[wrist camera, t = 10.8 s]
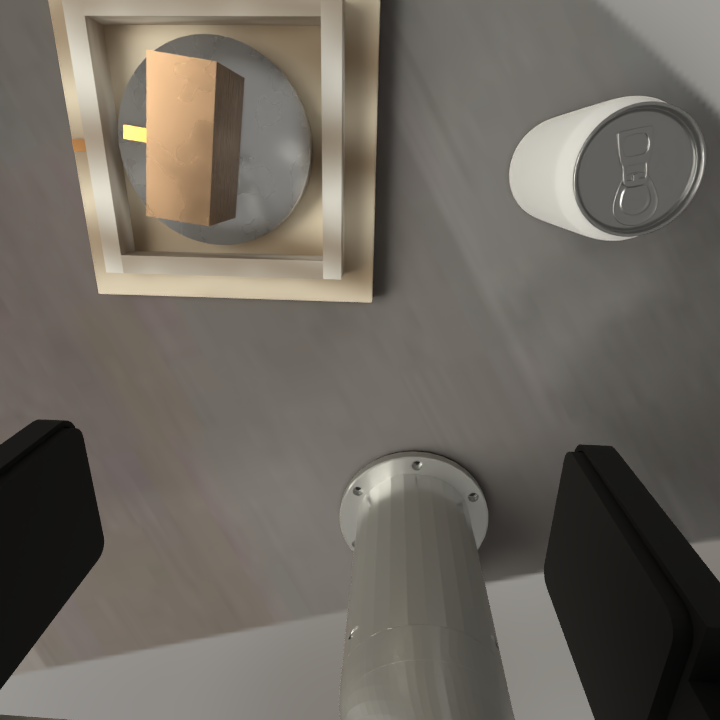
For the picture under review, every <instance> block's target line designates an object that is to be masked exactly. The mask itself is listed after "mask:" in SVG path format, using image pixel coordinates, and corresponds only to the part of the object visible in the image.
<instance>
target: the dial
mask: <svg viewBox="0 0 720 720" xmlns="http://www.w3.org/2000/svg"><path fill="white" fill-rule="evenodd" d="M118 138H119V147H120V152H121V157H122V161H123V164H124V167H125V170H126V173H127V175H128V177H129V180H130V182H131V184H132V186H133V187H134V189H135V191H136V193H137V194H138V196H139V197H140V199H141V200H142V201H143V203H144V204H145V205H146V216H150V217H156V218H158V219H159V220H160V221H162V222H163V223H164V224H165V225H167V226H168V227H170V228H171V229H172V230H174V231H176V232H177V233H179V234H181V235H183V236H185V237H188V238H190V239H193V240H196V241H199V242H203V243H207V244H215V245H234V244H239V243H244V242H248V241H251V240H254V239H256V238H258V237H260V236H262V235H264V234H266V233H268V232H270V231H272V230H273V229H275V228H276V227H277V226H279V225H280V224H281V223H282V222H284V221H285V220H286V219H287V218H288V217H289V216H290V214H291V213H292V212H293V211H294V210H295V208H296V207H297V205H298V204H299V202H300V200H301V199H302V197H303V195H304V192H305V190H306V188H307V185H308V182H309V178H310V175H311V169H312V164H313V138H312V132H311V126H310V122H309V119H308V116H307V112H306V109H305V107H304V105H303V103H302V101H301V98H300V96H299V95H298V93H297V91H296V90H295V88H294V86H293V85H292V84H291V82H290V81H289V80H288V78H287V77H286V76H285V75H284V73H283V72H282V71H281V70H280V69H279V68H278V67H277V66H276V65H275V64H273V63H272V62H271V61H270V60H269V59H267V58H266V57H265V56H264V55H262V54H261V53H260V52H258V51H257V50H255V49H254V48H252V47H250V46H248V45H247V44H245V43H242V42H240V41H237V40H235V39H233V38H229V37H225V36H221V35H213V34H194V35H188V36H184V37H179V38H177V39H174V40H172V41H169V42H167V43H165V44H164V45H162V46H160V47H159V48H157V49H155V50H154V51H152V50H146V58H145V59H144V60H143V61H142V63H141V64H140V65H139V66H138V67H137V69H136V70H135V72H134V73H133V75H132V76H131V78H130V80H129V82H128V84H127V87H126V89H125V91H124V95H123V98H122V101H121V105H120V111H119V118H118Z"/></svg>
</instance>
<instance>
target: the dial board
mask: <svg viewBox="0 0 720 720" xmlns="http://www.w3.org/2000/svg"><path fill="white" fill-rule="evenodd" d="M48 1H49V7H50V13H51V18H52V24H53V30H54V36H55V42H56V47H57V53H58V59H59V65H60V71H61V77H62V82H63V88H64V94H65V100H66V106H67V111H68V117H69V123H70V129H71V135H72V142H73V148H74V152H75V158H76V164H77V170H78V175H79V181H80V187H81V193H82V199H83V205H84V210H85V216H86V222H87V228H88V234H89V239H90V245H91V251H92V257H93V263H94V269H95V274H96V280H97V286H98V292H99V294H126V295H157V296H188V297H218V298H249V299H279V300H310V301H341V302H371V303H372V298H373V266H374V228H375V191H376V154H377V117H378V79H379V42H380V5H381V0H48ZM194 34H213V35H221V36H225V37H229V38H233V39H235V40H237V41H240V42H242V43H245V44H247V45H248V46H250V47H252V48H254V49H255V50H257V51H258V52H260V53H261V54H262V55H264V56H265V57H266V58H267V59H269V60H270V61H271V62H272V63H273V64H275V65H276V66H277V67H278V68H279V69H280V70H281V71H282V72H283V73H284V75H285V76H286V77H287V78H288V80H289V81H290V82H291V84H292V85H293V86H294V88H295V90H296V91H297V93H298V95H299V96H300V98H301V101H302V103H303V105H304V107H305V109H306V112H307V116H308V119H309V122H310V126H311V132H312V138H313V164H312V169H311V175H310V178H309V182H308V185H307V188H306V190H305V192H304V195H303V197H302V199H301V200H300V202H299V204H298V205H297V207H296V208H295V210H294V211H293V212H292V213H291V214H290V216H289V217H288V218H287V219H286V220H285V221H284V222H282V223H281V224H280V225H279V226H277V227H276V228H275V229H273V230H272V231H270V232H268V233H266V234H264V235H262V236H260V237H258V238H256V239H254V240H251V241H248V242H244V243H239V244H234V245H215V244H207V243H203V242H199V241H196V240H193V239H190V238H188V237H185V236H183V235H181V234H179V233H177V232H176V231H174V230H172V229H171V228H170V227H168V226H167V225H165V224H164V223H163V222H162V221H160V220H159V219H158V218H156V217H150V216H146V205H145V204H144V203H143V201H142V200H141V199H140V197H139V196H138V194H137V193H136V191H135V189H134V187H133V186H132V184H131V182H130V180H129V177H128V175H127V173H126V170H125V167H124V164H123V161H122V157H121V152H120V147H119V138H118V118H119V111H120V105H121V101H122V98H123V95H124V91H125V89H126V87H127V84H128V82H129V80H130V78H131V76H132V75H133V73H134V72H135V70H136V69H137V67H138V66H139V65H140V64H141V63H142V61H143V60H144V59H145V58H146V50H152V51H154V50H155V49H157V48H159V47H160V46H162V45H164V44H165V43H167V42H169V41H172V40H174V39H177V38H179V37H184V36H188V35H194Z"/></svg>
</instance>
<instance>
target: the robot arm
mask: <svg viewBox="0 0 720 720" xmlns="http://www.w3.org/2000/svg"><path fill="white" fill-rule="evenodd" d="M415 461H418V462H415ZM340 526H341V530H342V534H343V536H344V538H345V540H346V542H347V544H348V546H349V547H350V548H351V550H352V551H353V552H354V557H353V566H352V576H351V586H350V595H349V605H348V614H347V624H346V634H345V644H344V653H343V663H342V672H341V683H340V694H339V713H340V720H515V719H514V714H513V710H512V706H511V701H510V696H509V692H508V687H507V683H506V679H505V674H504V669H503V665H502V660H501V655H500V651H499V646H498V642H497V637H496V633H495V628H494V624H493V619H492V614H491V610H490V605H489V600H488V596H487V591H486V587H485V582H484V578H483V573H482V568H481V564H480V559H479V555H478V549H479V548H480V546H481V544H482V542H483V540H484V538H485V536H486V532H487V528H488V509H487V504H486V500H485V497H484V495H483V492H482V489H481V488H480V486H479V485H478V483H477V481H476V480H475V479H474V478H473V476H472V475H471V474H470V473H469V472H468V471H467V470H466V469H464V468H463V467H461V466H460V465H458V464H457V463H456V462H454V461H451V460H449V459H447V458H445V457H443V456H439V455H435V454H431V453H427V452H416V451H411V452H399V453H395V454H391V455H387V456H384V457H381V458H379V459H377V460H375V461H372V462H371V463H369V464H368V465H366V466H365V467H363V468H362V469H361V470H360V471H359V472H358V473H357V474H356V475H355V476H354V477H353V478H352V479H351V481H350V483H349V484H348V486H347V487H346V489H345V492H344V495H343V497H342V501H341V507H340ZM103 547H104V536H103V531H102V526H101V521H100V516H99V511H98V507H97V502H96V497H95V492H94V487H93V482H92V477H91V472H90V467H89V463H88V458H87V453H86V448H85V443H84V438H83V435H82V432H81V431H80V430H79V429H76V428H75V426H74V425H73V424H72V423H71V422H69V421H62V420H36V421H34V422H32V423H31V424H29V425H28V426H26V427H25V428H23V429H22V430H21V431H19V432H18V433H16V434H15V435H14V436H12V437H11V438H9V439H8V440H6V441H5V442H4V443H2V444H1V445H0V689H1V688H2V687H3V685H4V684H5V683H6V681H7V680H8V679H9V677H10V676H11V675H12V673H13V672H14V671H15V670H16V668H17V667H18V666H19V664H20V663H21V662H22V660H23V659H24V658H25V656H26V655H27V654H28V652H29V651H30V650H31V648H32V647H33V646H34V644H35V643H36V642H37V640H38V639H39V638H40V636H41V635H42V634H43V632H44V631H45V630H46V628H47V627H48V626H49V624H50V623H51V622H52V620H53V619H54V618H55V616H56V615H57V614H58V612H59V611H60V610H61V608H62V607H63V606H64V604H65V603H66V602H67V600H68V599H69V598H70V596H71V595H72V594H73V592H74V591H75V590H76V589H77V587H78V586H79V585H80V583H81V582H82V581H83V579H84V578H85V577H86V575H87V574H88V573H89V571H90V570H91V569H92V567H93V566H94V565H95V563H96V562H97V561H98V559H99V558H100V556H101V554H102V551H103ZM544 575H545V576H544V577H545V583H546V586H547V589H548V592H549V595H550V597H551V600H552V603H553V606H554V608H555V611H556V614H557V617H558V619H559V622H560V625H561V628H562V630H563V633H564V636H565V639H566V641H567V644H568V647H569V650H570V652H571V655H572V658H573V661H574V663H575V666H576V669H577V672H578V674H579V677H580V680H581V683H582V685H583V688H584V691H585V694H586V696H587V699H588V702H589V705H590V707H591V710H592V713H593V716H594V718H595V720H720V582H719V581H718V580H717V578H716V577H715V576H714V575H713V573H712V572H711V571H710V569H709V568H708V567H707V566H706V564H705V563H704V562H703V561H702V560H701V558H700V557H699V555H698V554H697V553H696V552H695V550H694V549H693V548H692V546H691V545H690V544H689V543H688V541H687V540H686V539H685V537H684V536H683V535H682V534H681V532H680V531H679V530H678V529H677V527H676V526H675V525H674V523H673V522H672V521H671V520H670V518H669V517H668V516H667V515H666V513H665V512H664V511H663V509H662V508H661V507H660V506H659V504H658V503H657V502H656V501H655V499H654V498H653V497H652V495H651V494H650V493H649V492H648V490H647V489H646V488H645V486H644V485H643V484H642V483H641V481H640V480H639V479H638V478H637V476H636V475H635V474H634V472H633V471H632V470H631V469H630V467H629V466H628V465H627V464H626V462H625V461H624V460H623V458H622V457H621V456H620V455H619V453H618V452H617V451H616V450H615V449H614V448H613V447H612V446H600V445H578V446H577V447H576V449H575V452H568V453H567V454H566V455H565V459H564V463H563V469H562V474H561V479H560V485H559V490H558V495H557V501H556V506H555V511H554V516H553V522H552V527H551V532H550V538H549V543H548V548H547V554H546V559H545V565H544ZM0 720H65V719H52V718H38V717H24V716H10V715H0Z"/></svg>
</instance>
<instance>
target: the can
mask: <svg viewBox="0 0 720 720" xmlns="http://www.w3.org/2000/svg"><path fill="white" fill-rule="evenodd" d="M705 167H706V146H705V141H704V138H703V135H702V132H701V130H700V128H699V126H698V125H697V123H696V122H695V121H694V119H693V118H692V117H691V116H690V115H689V114H687V113H686V112H685V111H683V110H682V109H680V108H678V107H676V106H674V105H671V104H668V103H666V102H664V101H662V100H659V99H656V98H652V97H647V96H628V97H621V98H617V99H613V100H609V101H606V102H602V103H599V104H595V105H592V106H589V107H586V108H582V109H579V110H576V111H573V112H569V113H566V114H563V115H560V116H557V117H554V118H551V119H549V120H546V121H544V122H542V123H540V124H539V125H537V126H536V127H534V128H533V129H532V130H531V131H529V132H528V133H527V134H526V135H525V137H524V138H523V139H522V140H521V142H520V143H519V145H518V146H517V148H516V150H515V152H514V154H513V157H512V160H511V164H510V171H509V181H510V187H511V191H512V193H513V196H514V198H515V200H516V201H517V203H518V204H519V205H520V207H521V208H522V209H523V210H524V211H526V212H527V213H528V214H530V215H531V216H533V217H535V218H537V219H540V220H542V221H545V222H548V223H550V224H553V225H556V226H559V227H561V228H564V229H567V230H570V231H573V232H576V233H578V234H581V235H584V236H587V237H591V238H594V239H599V240H608V241H618V240H626V239H630V238H634V237H637V236H640V235H644V234H648V233H651V232H653V231H656V230H658V229H660V228H662V227H664V226H665V225H667V224H669V223H670V222H671V221H673V220H674V219H675V218H676V217H678V216H679V215H680V214H681V213H682V212H683V211H684V210H685V209H686V207H687V206H688V205H689V204H690V202H691V201H692V200H693V198H694V196H695V195H696V193H697V191H698V189H699V187H700V185H701V182H702V179H703V176H704V172H705Z"/></svg>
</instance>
